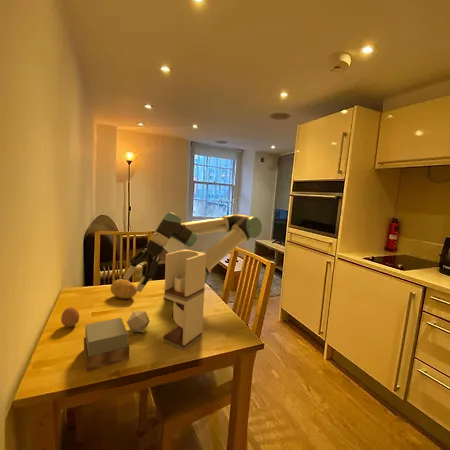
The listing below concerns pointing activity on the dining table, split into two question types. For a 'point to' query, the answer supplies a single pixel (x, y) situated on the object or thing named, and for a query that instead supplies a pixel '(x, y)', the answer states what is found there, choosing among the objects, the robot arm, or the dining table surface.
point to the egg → (70, 317)
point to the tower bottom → (105, 357)
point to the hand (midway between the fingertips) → (131, 284)
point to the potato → (123, 289)
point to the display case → (185, 295)
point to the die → (138, 321)
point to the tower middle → (105, 336)
